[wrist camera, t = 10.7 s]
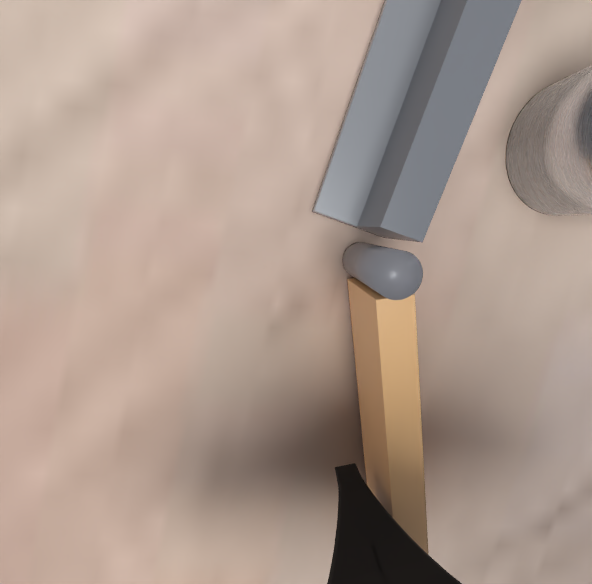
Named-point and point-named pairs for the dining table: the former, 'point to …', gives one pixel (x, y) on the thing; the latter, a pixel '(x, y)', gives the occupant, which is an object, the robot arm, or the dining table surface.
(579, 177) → the steel cylinder
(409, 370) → the gate
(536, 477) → the dining table surface
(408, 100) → the housing
